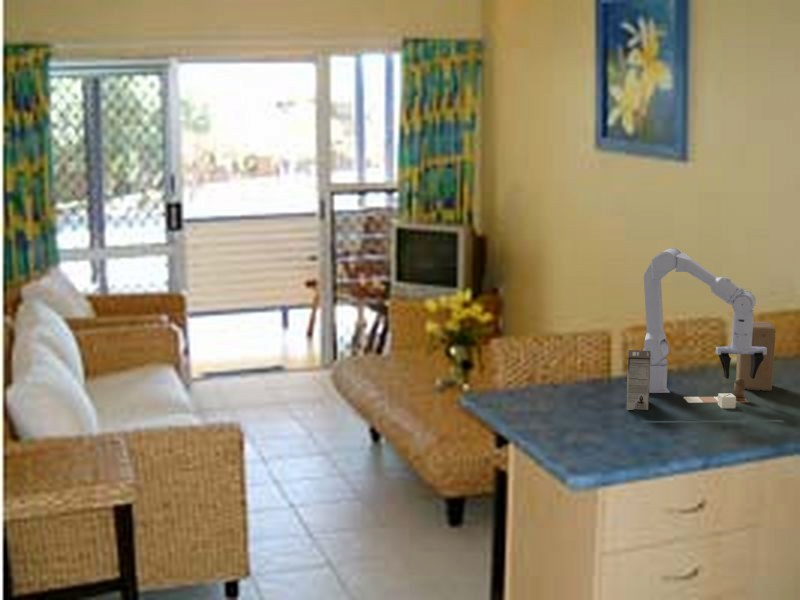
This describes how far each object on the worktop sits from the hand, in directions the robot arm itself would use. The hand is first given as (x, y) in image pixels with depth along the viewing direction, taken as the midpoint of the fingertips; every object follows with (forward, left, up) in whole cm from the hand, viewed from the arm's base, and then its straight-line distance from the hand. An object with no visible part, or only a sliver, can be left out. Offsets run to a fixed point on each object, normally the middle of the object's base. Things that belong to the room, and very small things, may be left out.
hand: (739, 377), depth 332 cm
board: (-7, 0, -7) cm, 10 cm away
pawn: (0, 0, -7) cm, 7 cm away
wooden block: (+10, +16, -7) cm, 20 cm away
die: (-6, -7, -7) cm, 12 cm away
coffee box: (-31, -5, -7) cm, 32 cm away
